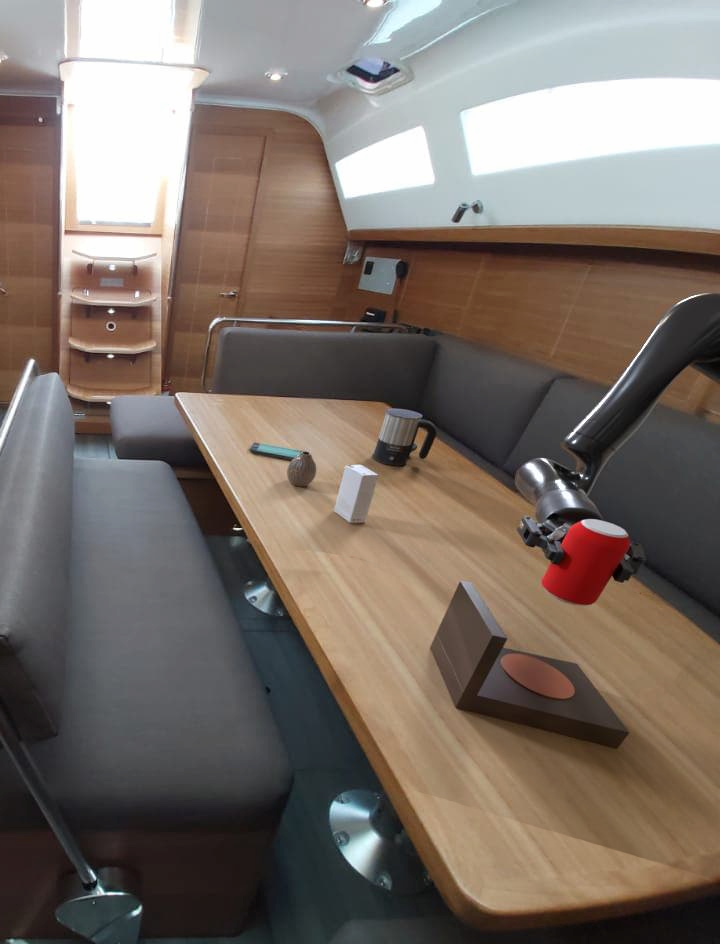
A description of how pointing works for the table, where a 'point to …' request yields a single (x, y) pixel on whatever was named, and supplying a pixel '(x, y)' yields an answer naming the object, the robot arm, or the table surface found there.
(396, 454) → the milk frother
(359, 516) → the cosmetic box
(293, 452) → the smartphone
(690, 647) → the table surface
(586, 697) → the bookend
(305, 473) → the vase
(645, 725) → the table surface
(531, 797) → the table surface
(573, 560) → the beverage can
